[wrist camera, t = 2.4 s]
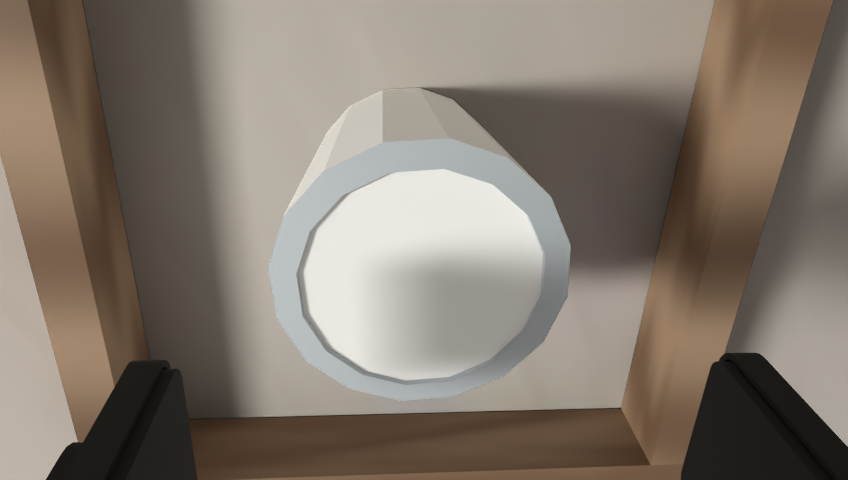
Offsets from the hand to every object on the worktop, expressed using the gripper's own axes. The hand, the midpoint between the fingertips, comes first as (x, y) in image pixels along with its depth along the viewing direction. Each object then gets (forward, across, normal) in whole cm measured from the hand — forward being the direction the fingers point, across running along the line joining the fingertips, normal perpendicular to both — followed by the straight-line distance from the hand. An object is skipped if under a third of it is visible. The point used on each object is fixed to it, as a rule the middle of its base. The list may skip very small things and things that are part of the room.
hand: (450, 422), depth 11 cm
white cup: (+11, 0, -1) cm, 11 cm away
